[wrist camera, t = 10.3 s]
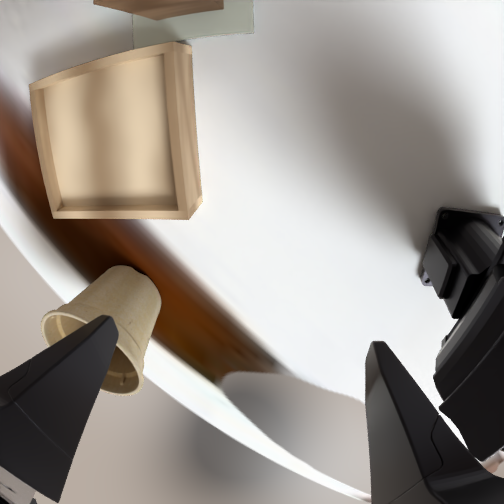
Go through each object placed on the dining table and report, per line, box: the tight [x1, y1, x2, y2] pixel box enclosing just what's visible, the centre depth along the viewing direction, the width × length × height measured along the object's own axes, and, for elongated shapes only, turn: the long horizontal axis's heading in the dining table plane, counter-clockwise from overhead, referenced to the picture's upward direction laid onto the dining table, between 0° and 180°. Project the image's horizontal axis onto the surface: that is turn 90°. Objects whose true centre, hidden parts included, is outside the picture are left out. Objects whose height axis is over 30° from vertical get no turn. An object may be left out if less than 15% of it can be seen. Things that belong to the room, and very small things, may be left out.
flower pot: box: [41, 265, 161, 396], centre depth 24 cm, size 9×9×9 cm
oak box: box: [29, 42, 203, 220], centre depth 19 cm, size 12×11×3 cm
